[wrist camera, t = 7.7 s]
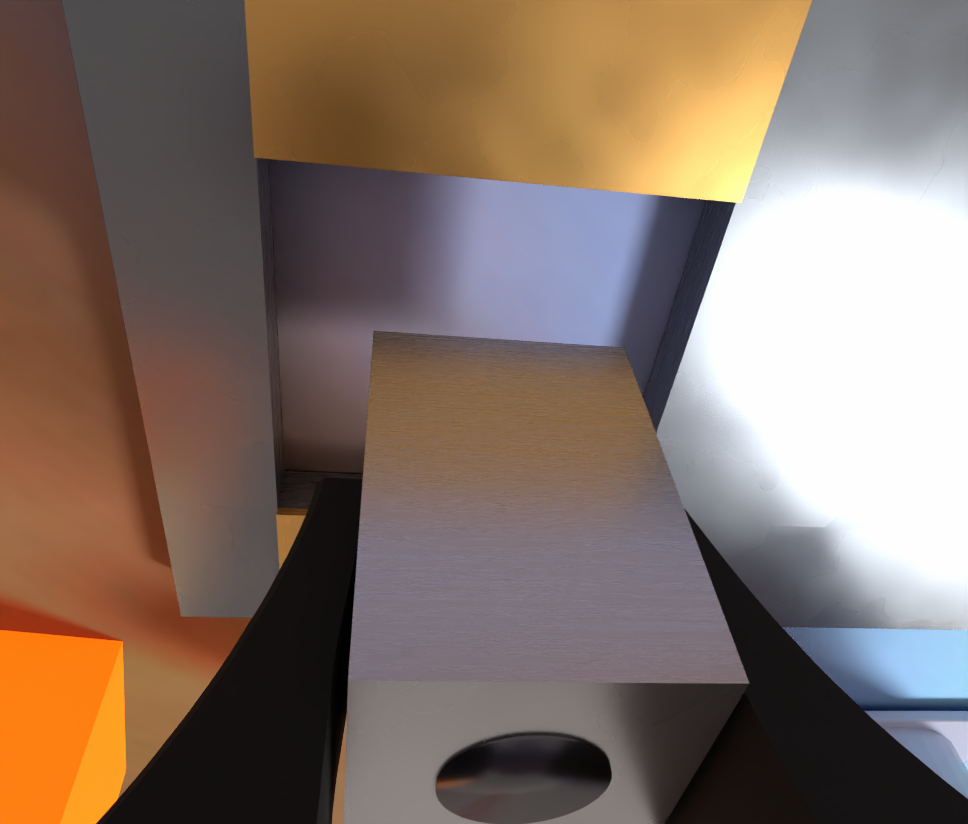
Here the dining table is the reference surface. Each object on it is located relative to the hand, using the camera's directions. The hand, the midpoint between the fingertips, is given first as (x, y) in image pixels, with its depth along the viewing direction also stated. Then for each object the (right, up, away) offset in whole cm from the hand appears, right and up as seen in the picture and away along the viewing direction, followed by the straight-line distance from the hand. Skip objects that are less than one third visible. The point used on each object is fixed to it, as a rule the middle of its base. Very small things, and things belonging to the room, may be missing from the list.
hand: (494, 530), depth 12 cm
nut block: (0, +1, +1) cm, 2 cm away
